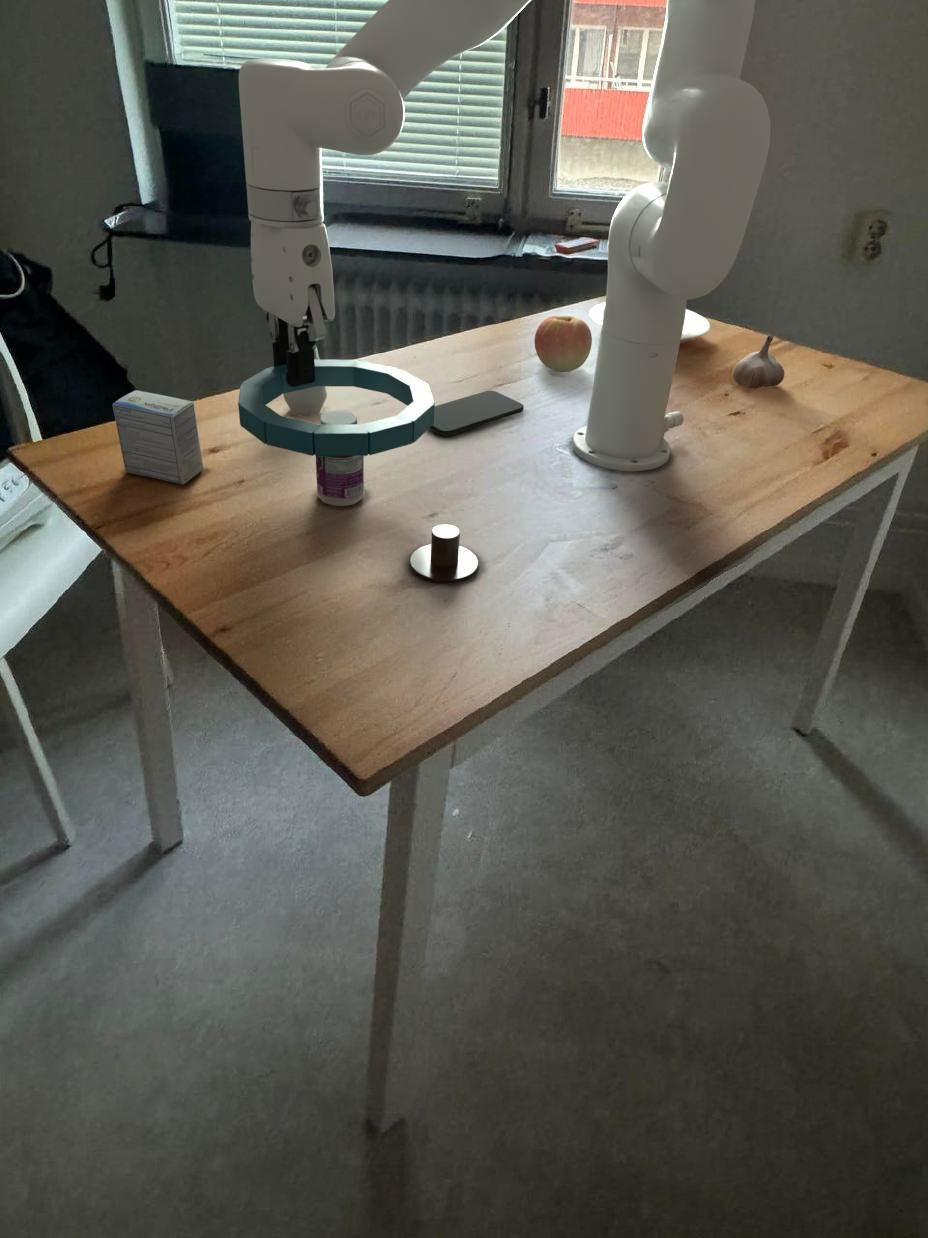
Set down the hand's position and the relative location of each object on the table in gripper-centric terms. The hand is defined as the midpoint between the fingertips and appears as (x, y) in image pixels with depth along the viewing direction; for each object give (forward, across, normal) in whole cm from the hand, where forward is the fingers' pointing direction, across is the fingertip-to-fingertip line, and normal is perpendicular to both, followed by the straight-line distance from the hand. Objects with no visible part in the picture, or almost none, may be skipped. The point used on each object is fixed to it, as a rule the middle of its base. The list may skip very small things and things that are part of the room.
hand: (294, 378), depth 100 cm
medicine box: (+11, +7, +14) cm, 19 cm away
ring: (+1, -9, 0) cm, 9 cm away
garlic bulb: (+11, -13, -73) cm, 75 cm away
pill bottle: (+11, -9, 0) cm, 14 cm away
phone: (+11, +1, -27) cm, 29 cm away
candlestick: (+11, +11, -73) cm, 75 cm away
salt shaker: (+11, +14, -9) cm, 20 cm away
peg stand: (+11, -27, -1) cm, 29 cm away
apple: (+11, +8, -51) cm, 53 cm away
